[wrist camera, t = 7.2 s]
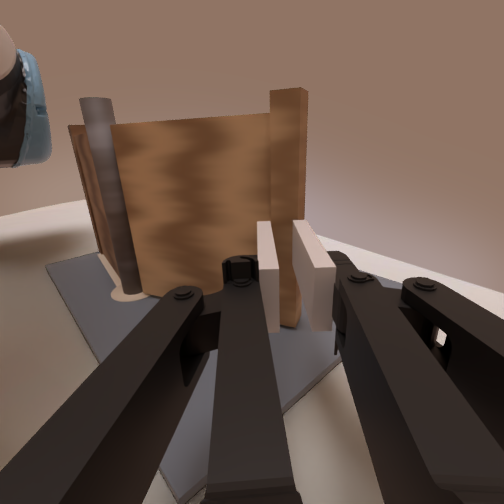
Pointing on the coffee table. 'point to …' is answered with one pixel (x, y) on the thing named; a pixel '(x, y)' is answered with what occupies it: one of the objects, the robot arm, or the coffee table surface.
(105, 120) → the rod
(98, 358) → the board
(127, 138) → the fence panel
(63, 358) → the coffee table surface
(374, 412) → the robot arm
